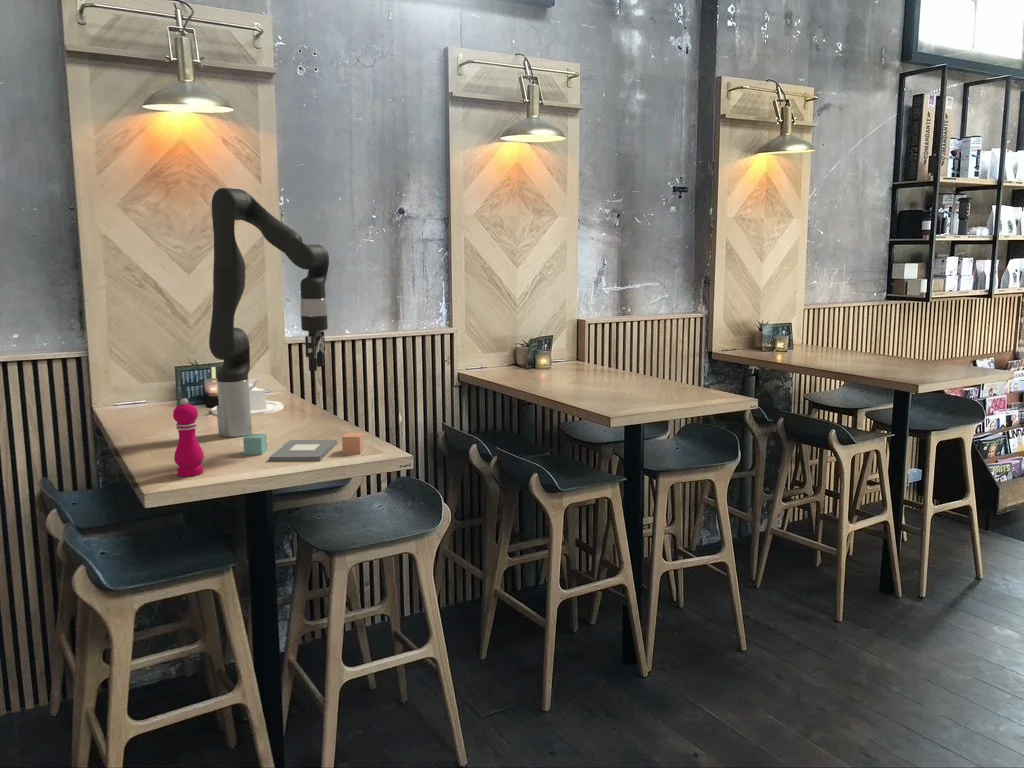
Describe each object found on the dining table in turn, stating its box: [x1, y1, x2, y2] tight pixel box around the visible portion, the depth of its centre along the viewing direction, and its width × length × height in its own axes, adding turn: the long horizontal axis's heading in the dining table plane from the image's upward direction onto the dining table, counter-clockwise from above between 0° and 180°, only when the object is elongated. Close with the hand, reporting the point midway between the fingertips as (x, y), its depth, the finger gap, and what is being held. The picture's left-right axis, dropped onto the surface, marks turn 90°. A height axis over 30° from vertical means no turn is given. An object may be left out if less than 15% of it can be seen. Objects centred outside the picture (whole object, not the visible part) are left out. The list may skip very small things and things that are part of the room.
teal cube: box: [242, 433, 268, 456], centre depth 242 cm, size 5×5×5 cm
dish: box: [210, 378, 285, 417], centre depth 305 cm, size 25×25×11 cm
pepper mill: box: [172, 397, 205, 478], centre depth 219 cm, size 7×7×20 cm
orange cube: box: [341, 432, 365, 455], centre depth 241 cm, size 5×5×5 cm
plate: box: [268, 439, 338, 462], centre depth 241 cm, size 14×20×1 cm
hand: (316, 368), depth 250 cm, fingers open, 8 cm apart
